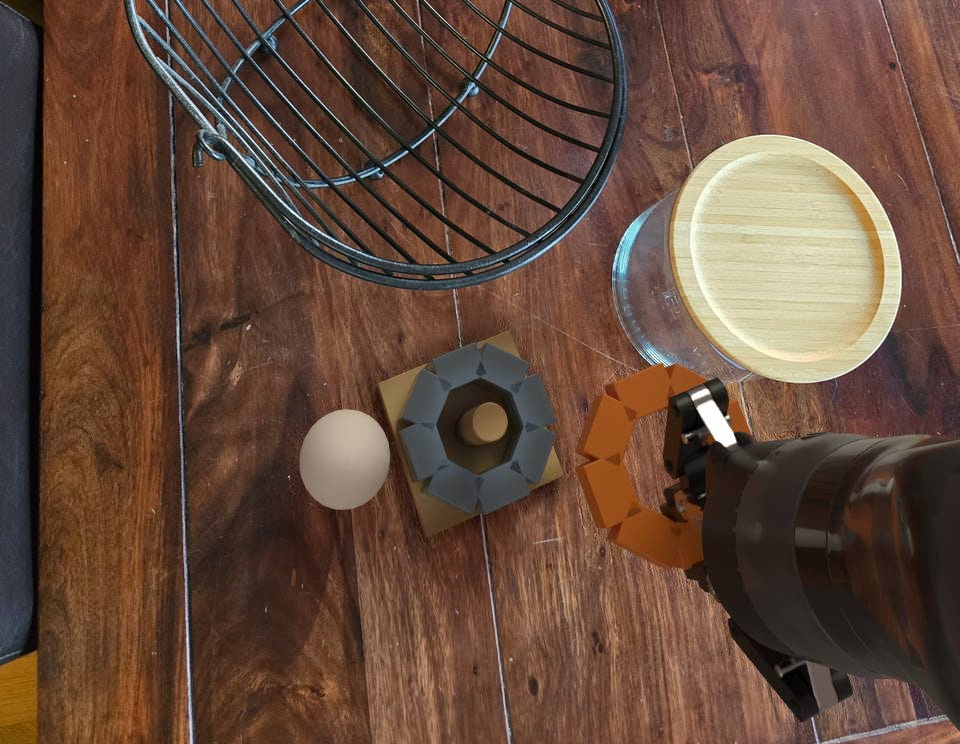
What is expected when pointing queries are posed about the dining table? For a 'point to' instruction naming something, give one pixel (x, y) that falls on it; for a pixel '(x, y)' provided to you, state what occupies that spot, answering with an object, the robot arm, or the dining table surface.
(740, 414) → the orange ring
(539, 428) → the ring stack
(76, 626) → the dining table surface
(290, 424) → the dining table surface
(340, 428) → the egg
